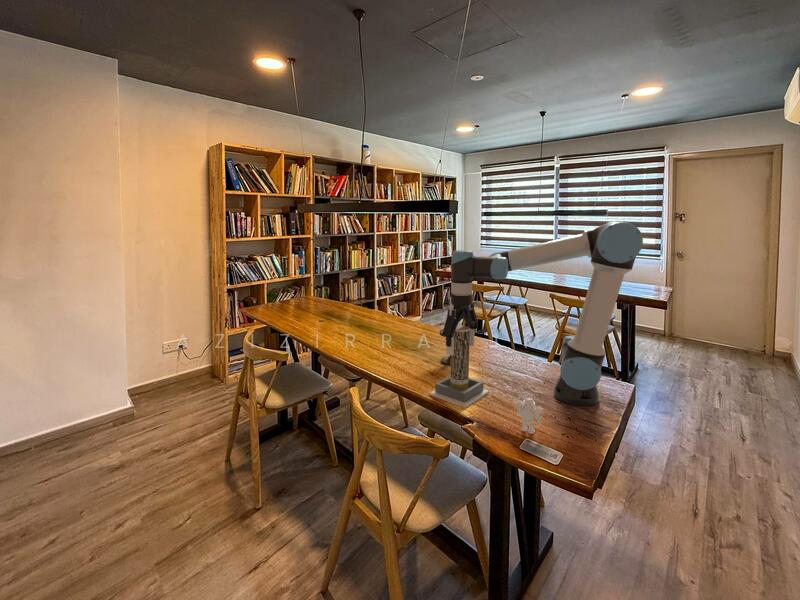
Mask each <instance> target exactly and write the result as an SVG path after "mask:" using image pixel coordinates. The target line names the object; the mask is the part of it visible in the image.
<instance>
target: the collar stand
mask: <svg viewBox="0 0 800 600" xmlns="http://www.w3.org/2000/svg"><path fill="white" fill-rule="evenodd" d="M484 384H485V383H484V382H483V381H481V380H478V379H475V378H471V377H469V381H468V389H467V390H465V391H461V390H458V389H455V388H452V387H450V375H449V376H448V377H446V378H443V379H442V380H439V381H437V382H436V383H435V386H434V389H433V390H431V391H429V396H432V397H434V398H437V399H440V400H443V401H446V402H448V403H450V402H451V403H450V404H454V405H456V404H457V406H458V405H459V406H460V407H461V406H463V407H462V408H464V407H465V409H467V408H468V407H469V405H470V406H471V405H473V404H474V403H475V402H478V401H479V400H480V399H482V398H484V397H486V396H487V395H488V394H489V393H490V392H489V390H487V389H486V388H485V389H484ZM486 394H487V395H486ZM472 403H473V404H472ZM467 406H468V407H467ZM466 407H467V408H466Z"/></svg>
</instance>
